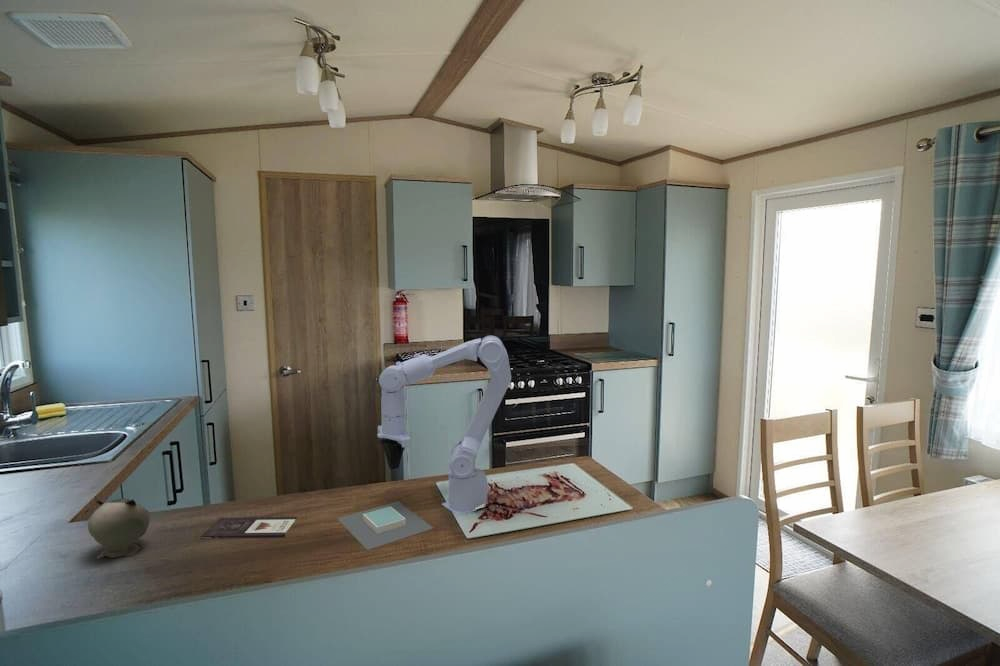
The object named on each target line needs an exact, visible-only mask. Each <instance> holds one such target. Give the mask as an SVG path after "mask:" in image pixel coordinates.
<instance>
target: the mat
mask: <svg viewBox="0 0 1000 666" xmlns="http://www.w3.org/2000/svg"><path fill="white" fill-rule="evenodd" d="M387 507H392V508H393V509H394V510H395V511H397V512H398V513H399V514H400V515H402V516H403V517H404V518H405V519H406V525H405V526H402V527H399V528H395V529H392V530H389V531H386V532H383V533H379V534H377V533H376V532H374V531H373V530H372V529H371V528H370V527H369V526H368V525H367V524H366V523H365V522H364V521H363V514H366V513H369V512H373V511H376V510H380V509H383V508H387ZM336 520H338V521H339V523H341V525H342V526H343V527H344V528H345V529H346V530H347V531H348V532H349V533H350V534H351V535H352V536H353V537H354V538H355V539H356V540H357V541H358V542H359V544H361V545H362V547H364V549H366V551H369V550H372V549H375V548H379V547H381V546H385V545H386V544H391V543H393V542H397V541H400V540H402V539H406V538H409V537H411V536H415V535H418V534H421V533H423V532H427V531H430V530H432V529H434V527H433V526H431V525H430V524H429V523H427V521H425V520H424V519H422V518H421V517H419V516H418V515H417V514H415V512H414V511H412V510H410V508H408V507H407V506H405V505H404V504H402V503H401V502H400V501H394V502H390V503H388V504H383V505H380V506H376V507H372V508H370V509H369V508H368V509H365V510H362V511H361V510H360V511H359V512H355V513H351V514H347V515H343V516H340V517H337V518H336Z"/></svg>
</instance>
